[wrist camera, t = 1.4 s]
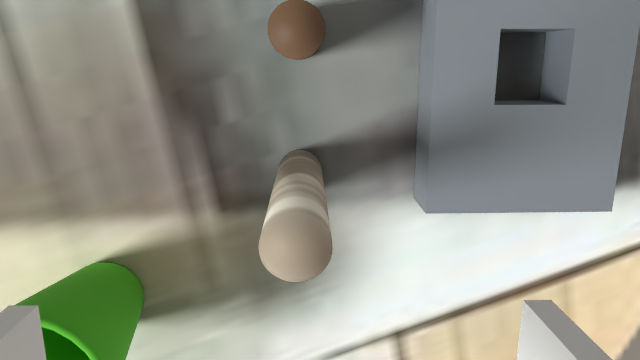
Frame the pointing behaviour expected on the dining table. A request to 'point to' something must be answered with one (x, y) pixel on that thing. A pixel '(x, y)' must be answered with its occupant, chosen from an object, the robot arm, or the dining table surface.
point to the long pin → (297, 221)
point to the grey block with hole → (523, 107)
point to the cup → (90, 313)
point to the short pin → (296, 29)
